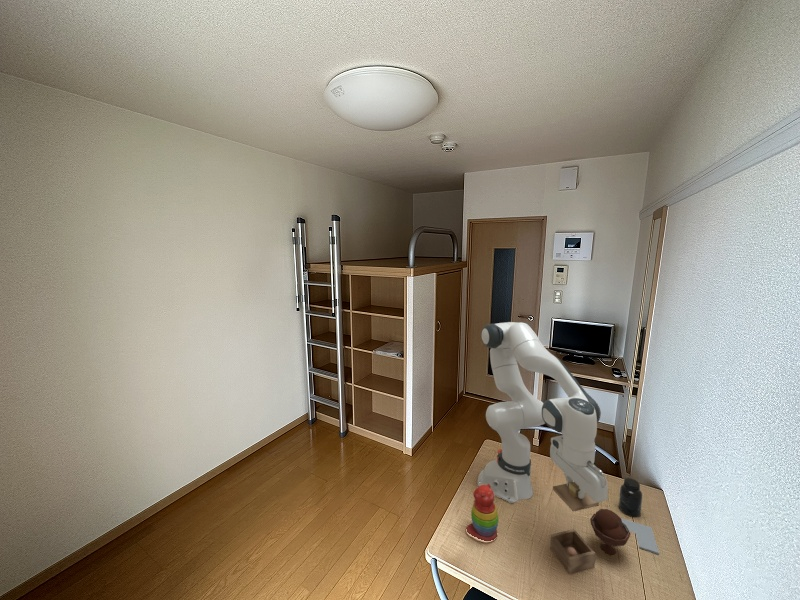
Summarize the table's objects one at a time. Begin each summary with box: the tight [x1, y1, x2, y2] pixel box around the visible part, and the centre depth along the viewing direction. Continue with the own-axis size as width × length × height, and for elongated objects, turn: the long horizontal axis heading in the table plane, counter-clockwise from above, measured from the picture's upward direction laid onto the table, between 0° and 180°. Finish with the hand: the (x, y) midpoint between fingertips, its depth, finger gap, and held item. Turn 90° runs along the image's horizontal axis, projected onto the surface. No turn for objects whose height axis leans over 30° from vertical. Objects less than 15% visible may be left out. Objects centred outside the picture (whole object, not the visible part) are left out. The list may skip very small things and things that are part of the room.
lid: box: [552, 481, 600, 512], centre depth 99 cm, size 9×9×4 cm
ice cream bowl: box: [589, 508, 631, 557], centre depth 104 cm, size 11×11×15 cm
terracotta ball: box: [566, 547, 577, 556], centre depth 103 cm, size 3×3×3 cm
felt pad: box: [620, 517, 660, 555], centre depth 111 cm, size 11×11×1 cm
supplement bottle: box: [618, 477, 643, 518], centre depth 121 cm, size 7×7×12 cm
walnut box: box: [549, 528, 596, 575], centre depth 103 cm, size 9×9×6 cm
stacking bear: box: [465, 484, 499, 541], centre depth 113 cm, size 11×10×18 cm
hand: (575, 492), depth 100 cm, fingers closed on lid, 3 cm apart
